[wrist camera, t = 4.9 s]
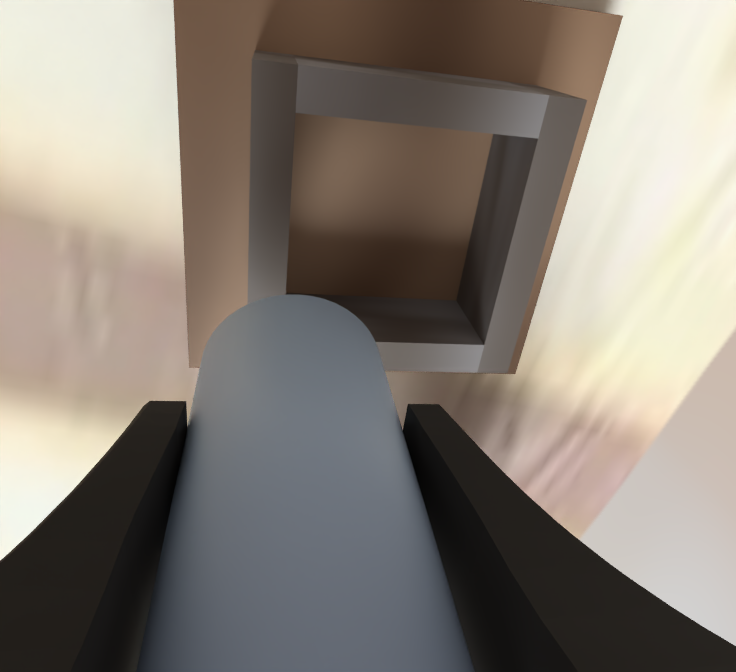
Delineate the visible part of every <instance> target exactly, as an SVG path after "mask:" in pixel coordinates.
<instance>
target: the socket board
mask: <svg viewBox="0 0 736 672" xmlns="http://www.w3.org/2000/svg"><path fill="white" fill-rule="evenodd" d="M622 17H623V16H620V15H614V14H608V13H601V12H595V11H588V10H582V9H575V8H569V7H563V6H556V5H550V4H543V3H537V2H530V1H524V0H174V21H175V45H176V68H177V92H178V115H179V139H180V162H181V186H182V209H183V233H184V256H185V280H186V303H187V327H188V350H189V368H200V364H201V360H202V356H203V351H204V349H205V346H206V344H207V342H208V340H209V338H210V337H211V335H212V333H213V332H214V331H215V329H216V328H217V327H218V326H219V325H220V323H222V322H223V321H224V320H225V319H226V318H227V317H228V316H229V315H231V314H232V313H234V312H235V311H237V310H238V309H240V308H242V307H244V306H246V305H247V304H249V303H252V302H255V301H257V300H260V299H263V298H268V297H272V296H278V295H308V296H314V297H318V298H322V299H326V300H328V301H331V302H334V303H336V304H338V305H340V306H342V307H344V308H345V309H347V310H348V311H350V312H351V313H353V314H354V315H355V316H356V317H357V318H359V319H360V320H361V321H362V322H363V323H364V325H365V326H366V327H367V328H368V330H369V331H370V333H371V334H372V336H373V338H374V340H375V342H376V345H377V347H378V350H379V353H380V357H381V360H382V363H383V367H384V370H385V371H392V372H443V373H495V374H515V373H516V369H517V366H518V363H519V359H520V356H521V353H522V349H523V346H524V343H525V339H526V336H527V333H528V329H529V326H530V323H531V319H532V316H533V313H534V309H535V306H536V303H537V300H538V296H539V293H540V290H541V286H542V283H543V280H544V276H545V273H546V270H547V266H548V263H549V260H550V256H551V253H552V250H553V246H554V243H555V240H556V236H557V233H558V230H559V226H560V223H561V220H562V216H563V213H564V210H565V206H566V203H567V200H568V196H569V193H570V190H571V187H572V183H573V180H574V177H575V173H576V170H577V167H578V163H579V160H580V157H581V153H582V150H583V147H584V143H585V140H586V137H587V133H588V130H589V127H590V123H591V120H592V117H593V113H594V110H595V107H596V103H597V100H598V97H599V93H600V90H601V87H602V83H603V80H604V77H605V74H606V70H607V67H608V64H609V60H610V57H611V54H612V50H613V47H614V44H615V40H616V37H617V34H618V30H619V27H620V24H621V20H622Z"/></svg>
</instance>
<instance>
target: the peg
mask: <svg viewBox="0 0 736 672" xmlns="http://www.w3.org/2000/svg"><path fill="white" fill-rule="evenodd" d="M136 672H475V671H474V667H473V664H472V661H471V657H470V654H469V651H468V647H467V644H466V641H465V637H464V634H463V631H462V627H461V624H460V620H459V617H458V614H457V610H456V607H455V604H454V600H453V597H452V594H451V590H450V587H449V584H448V580H447V577H446V574H445V570H444V567H443V564H442V560H441V557H440V554H439V550H438V547H437V544H436V540H435V537H434V534H433V530H432V527H431V524H430V520H429V517H428V514H427V510H426V507H425V504H424V500H423V497H422V494H421V490H420V487H419V484H418V480H417V477H416V474H415V470H414V467H413V464H412V460H411V457H410V454H409V450H408V447H407V444H406V440H405V437H404V434H403V430H402V427H401V424H400V420H399V417H398V414H397V410H396V407H395V403H394V400H393V397H392V393H391V390H390V387H389V383H388V380H387V377H386V373H385V370H384V367H383V363H382V360H381V357H380V353H379V350H378V347H377V345H376V342H375V340H374V338H373V336H372V334H371V333H370V331H369V330H368V328H367V327H366V326H365V325H364V323H363V322H362V321H361V320H360V319H359V318H357V317H356V316H355V315H354V314H353V313H351V312H350V311H348V310H347V309H345V308H344V307H342V306H340V305H338V304H336V303H334V302H331V301H328V300H326V299H322V298H318V297H314V296H308V295H278V296H272V297H268V298H263V299H260V300H257V301H255V302H252V303H249V304H247V305H246V306H244V307H242V308H240V309H238V310H237V311H235V312H234V313H232V314H231V315H229V316H228V317H227V318H226V319H225V320H224V321H223V322H222V323H220V325H219V326H218V327H217V328H216V329H215V331H214V332H213V333H212V335H211V337H210V338H209V340H208V342H207V344H206V346H205V349H204V351H203V356H202V360H201V364H200V369H199V374H198V379H197V384H196V388H195V393H194V398H193V403H192V408H191V412H190V417H189V422H188V427H187V432H186V437H185V442H184V447H183V452H182V456H181V461H180V466H179V471H178V475H177V480H176V485H175V489H174V494H173V499H172V503H171V508H170V513H169V518H168V523H167V527H166V532H165V537H164V542H163V547H162V551H161V556H160V561H159V566H158V570H157V575H156V580H155V585H154V590H153V594H152V599H151V604H150V609H149V614H148V618H147V623H146V628H145V633H144V638H143V642H142V647H141V652H140V657H139V662H138V666H137V671H136Z"/></svg>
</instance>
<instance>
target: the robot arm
mask: <svg viewBox="0 0 736 672" xmlns="http://www.w3.org/2000/svg"><path fill="white" fill-rule="evenodd" d="M186 432H187V411H186V401H149V402H148V403H147V404H146V405H144V406H143V408H142V409H141V410H140V412H139V413H138V414H137V416H136V417H135V418H134V419H133V421H132V422H131V423H130V425H129V426H128V427H127V428H126V430H125V431H124V432H123V433H122V435H121V436H120V437H119V438H118V439H117V441H116V442H115V443H114V444H113V445H112V447H111V448H110V449H109V450H108V451H107V453H106V454H105V455H104V456H103V457H102V458H101V459H100V461H99V462H98V463H97V464H96V465H95V466H94V467H93V468H92V470H91V471H90V472H89V473H88V474H87V475H86V476H85V477H84V479H83V480H82V481H81V482H80V483H79V484H78V485H77V486H76V487H75V489H74V490H73V491H72V492H71V493H70V494H69V495H68V496H67V497H66V498H65V499H64V500H63V501H62V502H61V503H60V504H59V505H58V506H57V507H56V508H55V509H54V510H53V511H52V512H51V513H50V514H49V515H48V516H47V517H46V518H45V519H44V520H43V521H42V522H41V523H40V524H39V525H38V526H37V527H36V528H35V529H34V530H33V531H32V532H31V533H30V534H29V535H28V536H27V537H26V538H25V539H24V540H23V541H22V542H20V543H19V544H18V545H17V546H16V547H15V548H14V549H13V550H12V551H11V552H10V553H9V554H7V555H6V556H5V557H4V558H3V559H2V560H1V561H0V672H136V671H137V666H138V662H139V657H140V652H141V647H142V642H143V638H144V633H145V628H146V623H147V618H148V614H149V609H150V604H151V599H152V594H153V590H154V585H155V580H156V575H157V570H158V566H159V561H160V556H161V551H162V547H163V542H164V537H165V532H166V527H167V523H168V518H169V513H170V508H171V503H172V499H173V494H174V489H175V485H176V480H177V475H178V471H179V466H180V461H181V456H182V452H183V447H184V442H185V437H186ZM403 434H404V437H405V440H406V444H407V447H408V450H409V454H410V457H411V460H412V464H413V467H414V470H415V474H416V477H417V480H418V484H419V487H420V490H421V494H422V497H423V500H424V504H425V507H426V510H427V514H428V517H429V520H430V524H431V527H432V530H433V534H434V537H435V540H436V544H437V547H438V550H439V554H440V557H441V560H442V564H443V567H444V570H445V574H446V577H447V580H448V584H449V587H450V590H451V594H452V597H453V600H454V604H455V607H456V610H457V614H458V617H459V620H460V624H461V627H462V631H463V634H464V637H465V641H466V644H467V647H468V651H469V654H470V657H471V661H472V664H473V667H474V671H475V672H736V646H734V645H733V644H731V643H729V642H728V641H726V640H724V639H723V638H721V637H719V636H718V635H716V634H714V633H713V632H711V631H709V630H707V629H706V628H704V627H702V626H701V625H699V624H698V623H696V622H695V621H693V620H691V619H690V618H688V617H687V616H685V615H683V614H682V613H680V612H679V611H677V610H676V609H674V608H672V607H671V606H669V605H668V604H666V603H665V602H663V601H662V600H661V599H659V598H658V597H656V596H655V595H653V594H652V593H650V592H649V591H647V590H646V589H644V588H643V587H641V586H640V585H638V584H637V583H636V582H634V581H633V580H631V579H630V578H628V577H627V576H626V575H624V574H622V572H620V571H619V570H617V569H616V568H614V567H613V566H612V565H610V564H609V563H608V562H606V561H605V560H604V559H603V558H601V557H600V556H599V555H598V554H596V553H595V552H594V551H592V550H591V549H590V548H588V547H587V546H586V545H585V544H583V543H582V542H581V541H580V540H578V539H577V538H576V537H575V536H573V535H572V534H571V533H570V532H568V531H567V530H566V529H565V528H564V527H562V526H561V525H560V524H559V523H558V522H557V521H555V520H554V519H553V518H552V517H551V516H550V515H549V514H548V513H546V512H545V511H544V510H543V509H542V508H541V507H540V506H539V505H538V504H536V503H535V502H534V501H533V500H532V499H531V498H530V497H529V496H528V495H527V494H525V493H524V492H523V491H522V490H521V489H520V488H519V487H518V486H517V485H516V484H515V483H514V482H513V481H512V480H511V479H510V478H509V477H508V476H507V475H506V474H505V473H504V472H503V471H502V470H501V469H500V468H499V467H498V466H497V465H496V464H495V463H494V462H493V461H492V460H491V459H490V458H489V457H488V456H487V455H486V454H485V453H484V452H483V451H482V450H481V449H480V448H479V447H478V446H477V444H476V443H475V442H474V441H473V440H472V439H471V438H470V437H469V436H468V435H467V434H466V433H465V432H464V431H463V430H462V428H461V427H460V426H459V425H458V424H457V423H456V422H455V421H454V420H453V419H452V418H451V417H450V416H449V414H448V413H447V412H446V411H445V410H444V409H443V408H442V407H441V406H440V405H438V404H408V407H407V412H406V417H405V422H404V427H403Z"/></svg>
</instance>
